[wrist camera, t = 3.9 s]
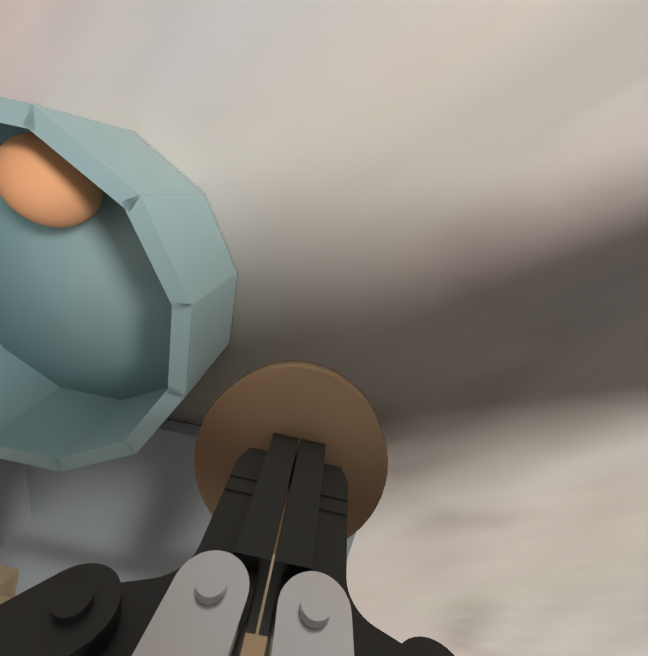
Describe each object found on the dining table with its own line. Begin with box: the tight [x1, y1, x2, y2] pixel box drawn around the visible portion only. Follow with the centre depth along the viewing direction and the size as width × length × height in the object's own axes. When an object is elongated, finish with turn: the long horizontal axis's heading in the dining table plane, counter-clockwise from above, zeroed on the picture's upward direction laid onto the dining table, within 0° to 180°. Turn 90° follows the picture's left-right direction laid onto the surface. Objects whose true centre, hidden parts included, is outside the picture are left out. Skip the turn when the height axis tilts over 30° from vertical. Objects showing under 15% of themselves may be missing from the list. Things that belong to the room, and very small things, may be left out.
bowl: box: [0, 97, 237, 472], centre depth 14 cm, size 12×12×5 cm
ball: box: [0, 132, 103, 228], centre depth 12 cm, size 3×3×3 cm
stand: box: [0, 419, 356, 596], centre depth 16 cm, size 17×20×10 cm
